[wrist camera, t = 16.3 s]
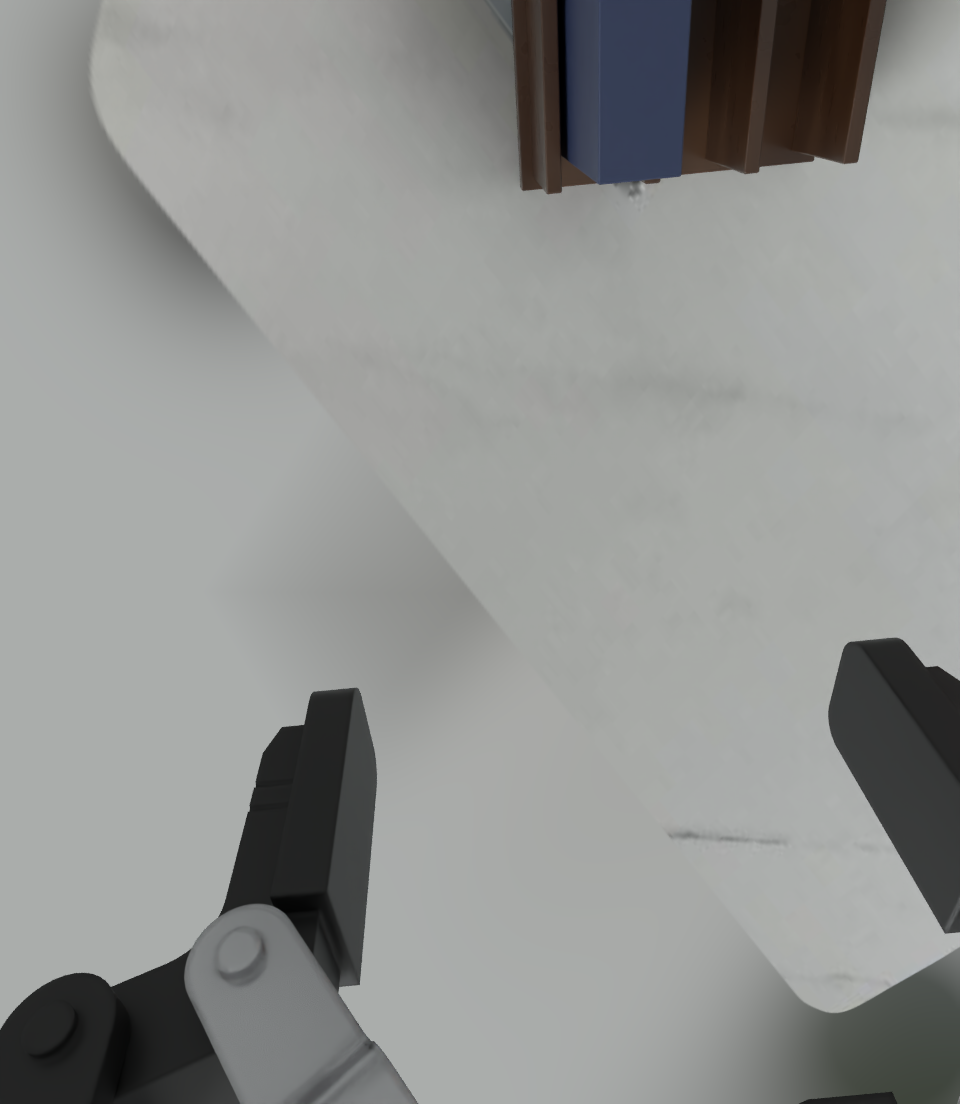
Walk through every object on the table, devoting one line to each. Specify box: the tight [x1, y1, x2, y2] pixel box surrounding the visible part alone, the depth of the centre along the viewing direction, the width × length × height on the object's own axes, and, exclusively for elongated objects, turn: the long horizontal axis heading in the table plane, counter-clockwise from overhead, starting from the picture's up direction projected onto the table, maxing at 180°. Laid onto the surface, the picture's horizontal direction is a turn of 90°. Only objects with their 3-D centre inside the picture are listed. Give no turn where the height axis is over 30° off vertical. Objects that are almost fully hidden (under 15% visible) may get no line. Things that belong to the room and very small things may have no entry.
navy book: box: [558, 0, 692, 185], centre depth 25 cm, size 3×9×11 cm, turn 5°
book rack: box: [511, 0, 886, 194], centre depth 28 cm, size 13×12×6 cm
